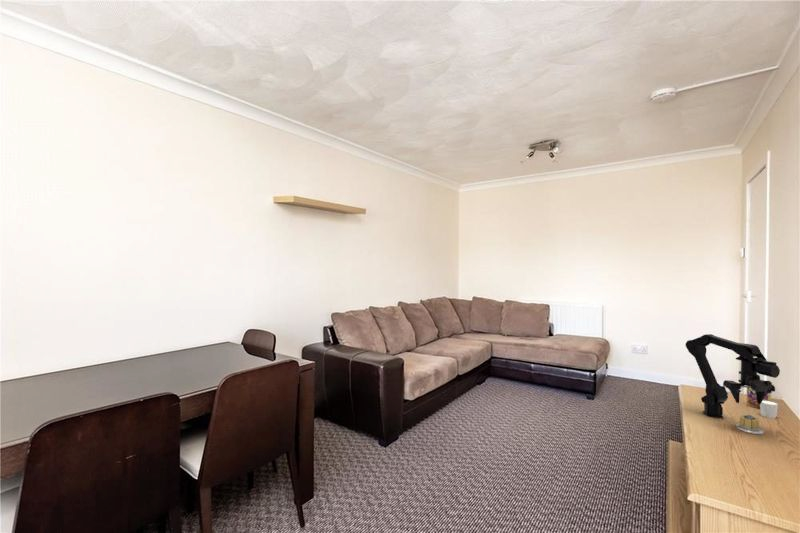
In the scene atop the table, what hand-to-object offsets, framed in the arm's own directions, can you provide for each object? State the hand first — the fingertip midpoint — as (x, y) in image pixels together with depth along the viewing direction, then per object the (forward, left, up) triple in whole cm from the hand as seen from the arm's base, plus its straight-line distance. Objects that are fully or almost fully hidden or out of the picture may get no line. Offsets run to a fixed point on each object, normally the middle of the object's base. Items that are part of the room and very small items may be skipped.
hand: (748, 403), depth 177 cm
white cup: (+19, +20, -12) cm, 30 cm away
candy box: (+21, +32, -12) cm, 40 cm away
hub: (0, -2, -12) cm, 12 cm away
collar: (0, -2, -10) cm, 10 cm away
